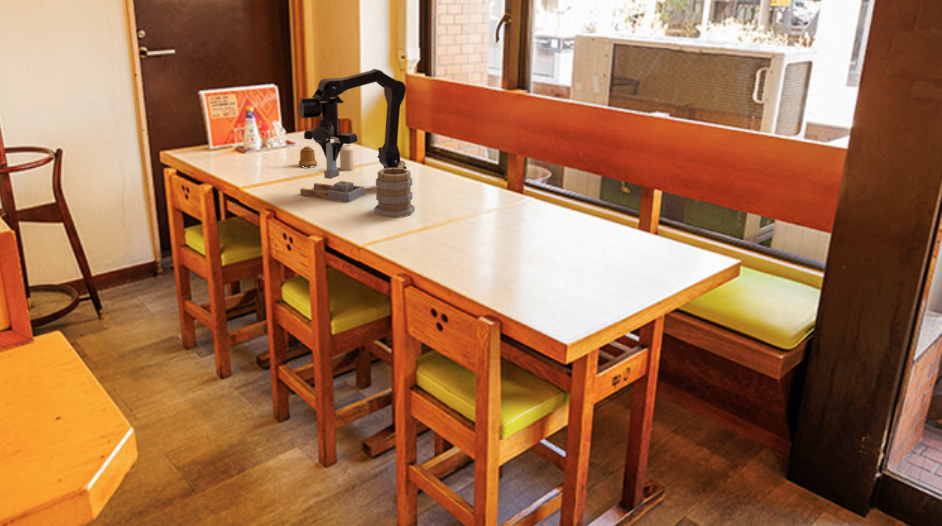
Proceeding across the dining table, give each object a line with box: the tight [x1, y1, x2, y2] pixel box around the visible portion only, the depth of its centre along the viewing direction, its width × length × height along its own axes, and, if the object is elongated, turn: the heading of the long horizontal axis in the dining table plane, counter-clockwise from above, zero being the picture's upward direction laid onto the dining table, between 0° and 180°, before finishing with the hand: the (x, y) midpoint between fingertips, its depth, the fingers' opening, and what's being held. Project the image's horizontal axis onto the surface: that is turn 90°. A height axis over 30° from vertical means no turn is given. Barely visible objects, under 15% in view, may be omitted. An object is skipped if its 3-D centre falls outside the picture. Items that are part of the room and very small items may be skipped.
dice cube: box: [333, 180, 354, 193], centre depth 269 cm, size 5×5×5 cm
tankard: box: [373, 160, 416, 218], centre depth 255 cm, size 20×13×15 cm, turn 168°
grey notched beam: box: [323, 142, 340, 180], centre depth 267 cm, size 2×6×12 cm, turn 157°
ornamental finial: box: [298, 146, 318, 167], centre depth 309 cm, size 8×8×8 cm
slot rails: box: [300, 182, 334, 199], centre depth 273 cm, size 11×10×2 cm
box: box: [326, 184, 366, 203], centre depth 269 cm, size 9×10×3 cm
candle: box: [339, 144, 355, 172], centre depth 305 cm, size 6×6×10 cm
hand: (331, 160), depth 267 cm, fingers closed on grey notched beam, 2 cm apart
